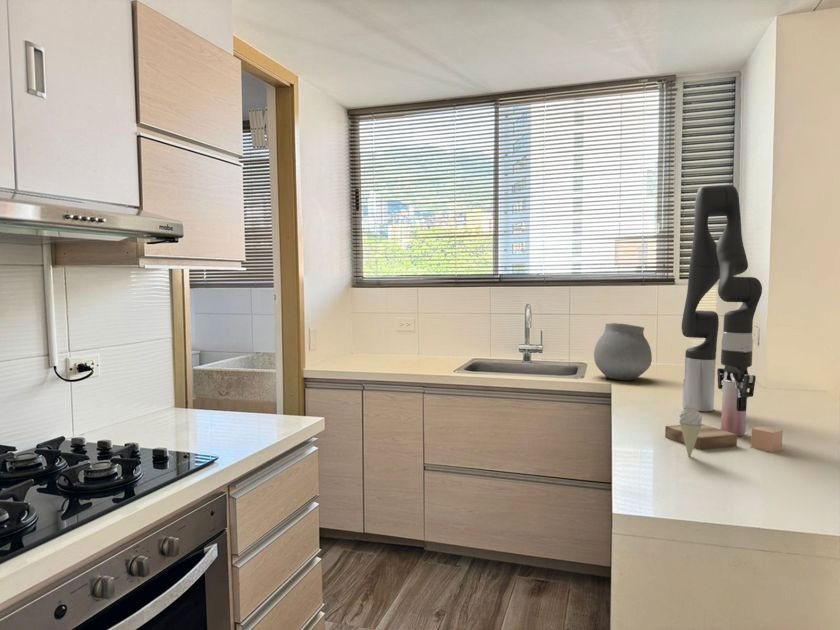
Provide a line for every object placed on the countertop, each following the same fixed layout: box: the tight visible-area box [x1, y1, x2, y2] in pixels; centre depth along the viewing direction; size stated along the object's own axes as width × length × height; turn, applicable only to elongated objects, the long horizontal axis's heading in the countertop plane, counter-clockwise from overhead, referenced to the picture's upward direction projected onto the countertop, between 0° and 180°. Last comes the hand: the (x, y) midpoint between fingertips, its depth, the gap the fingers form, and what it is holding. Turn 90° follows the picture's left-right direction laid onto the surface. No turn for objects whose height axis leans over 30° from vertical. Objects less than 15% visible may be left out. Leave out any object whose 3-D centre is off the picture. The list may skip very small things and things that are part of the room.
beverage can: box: [720, 379, 748, 437], centre depth 156 cm, size 6×6×15 cm
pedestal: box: [664, 423, 738, 450], centre depth 147 cm, size 12×12×3 cm
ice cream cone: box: [678, 395, 704, 458], centre depth 134 cm, size 5×5×15 cm
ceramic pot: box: [593, 322, 653, 381], centre depth 249 cm, size 24×24×25 cm
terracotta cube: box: [750, 425, 784, 453], centre depth 142 cm, size 5×5×5 cm
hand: (734, 408), depth 156 cm, fingers closed on beverage can, 6 cm apart
